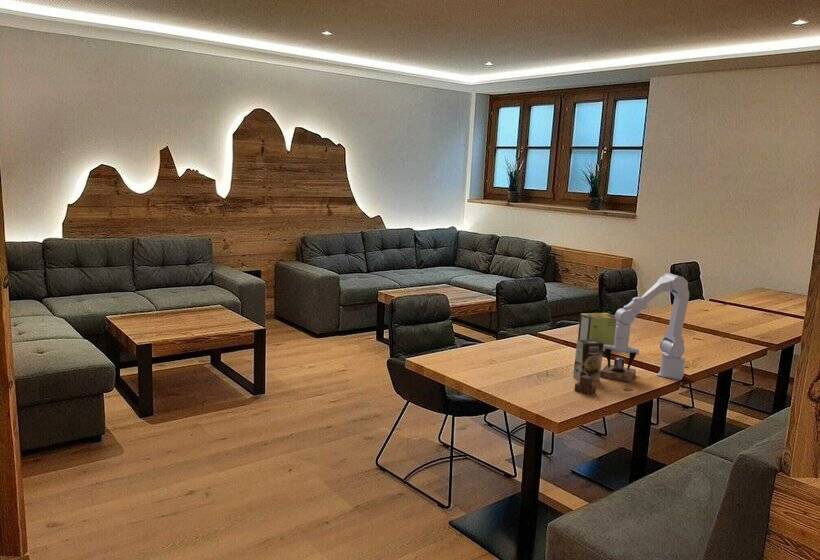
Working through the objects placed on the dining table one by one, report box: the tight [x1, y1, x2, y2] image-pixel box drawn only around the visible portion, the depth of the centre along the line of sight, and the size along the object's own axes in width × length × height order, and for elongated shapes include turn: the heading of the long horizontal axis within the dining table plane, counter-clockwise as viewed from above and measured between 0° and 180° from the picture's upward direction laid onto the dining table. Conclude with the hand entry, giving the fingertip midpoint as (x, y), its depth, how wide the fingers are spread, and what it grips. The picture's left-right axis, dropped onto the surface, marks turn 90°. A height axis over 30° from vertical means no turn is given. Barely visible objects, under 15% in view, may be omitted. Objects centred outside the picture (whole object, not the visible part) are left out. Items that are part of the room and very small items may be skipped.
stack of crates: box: [574, 375, 597, 396], centre depth 249 cm, size 15×15×7 cm
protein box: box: [577, 312, 616, 345], centre depth 314 cm, size 10×15×16 cm
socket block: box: [600, 363, 637, 383], centre depth 270 cm, size 12×12×2 cm
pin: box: [613, 356, 625, 373], centre depth 270 cm, size 4×4×7 cm
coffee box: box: [572, 339, 604, 382], centre depth 263 cm, size 9×6×16 cm
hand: (618, 368), depth 269 cm, fingers open, 7 cm apart
